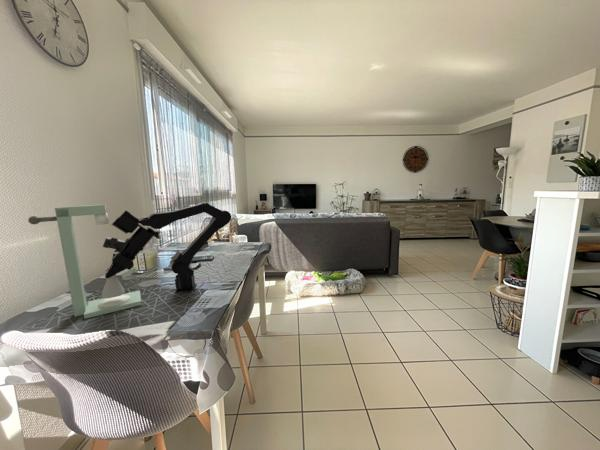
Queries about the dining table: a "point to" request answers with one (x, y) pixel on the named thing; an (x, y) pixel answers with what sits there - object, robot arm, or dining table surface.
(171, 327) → the dining table surface
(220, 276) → the dining table surface
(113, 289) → the flask
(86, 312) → the bench press
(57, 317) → the dining table surface
